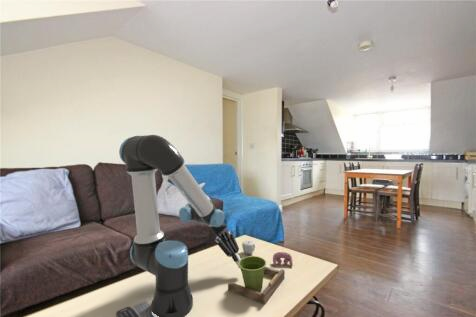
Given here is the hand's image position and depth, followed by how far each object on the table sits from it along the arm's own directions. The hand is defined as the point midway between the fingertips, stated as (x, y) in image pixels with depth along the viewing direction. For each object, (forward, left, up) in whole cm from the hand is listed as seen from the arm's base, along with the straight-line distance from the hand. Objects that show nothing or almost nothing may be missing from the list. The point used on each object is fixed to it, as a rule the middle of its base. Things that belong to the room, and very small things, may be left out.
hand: (241, 266), depth 108 cm
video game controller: (+20, -12, -5) cm, 24 cm away
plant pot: (-6, -9, -4) cm, 12 cm away
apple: (+23, +9, -5) cm, 25 cm away
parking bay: (-2, -9, -4) cm, 10 cm away
